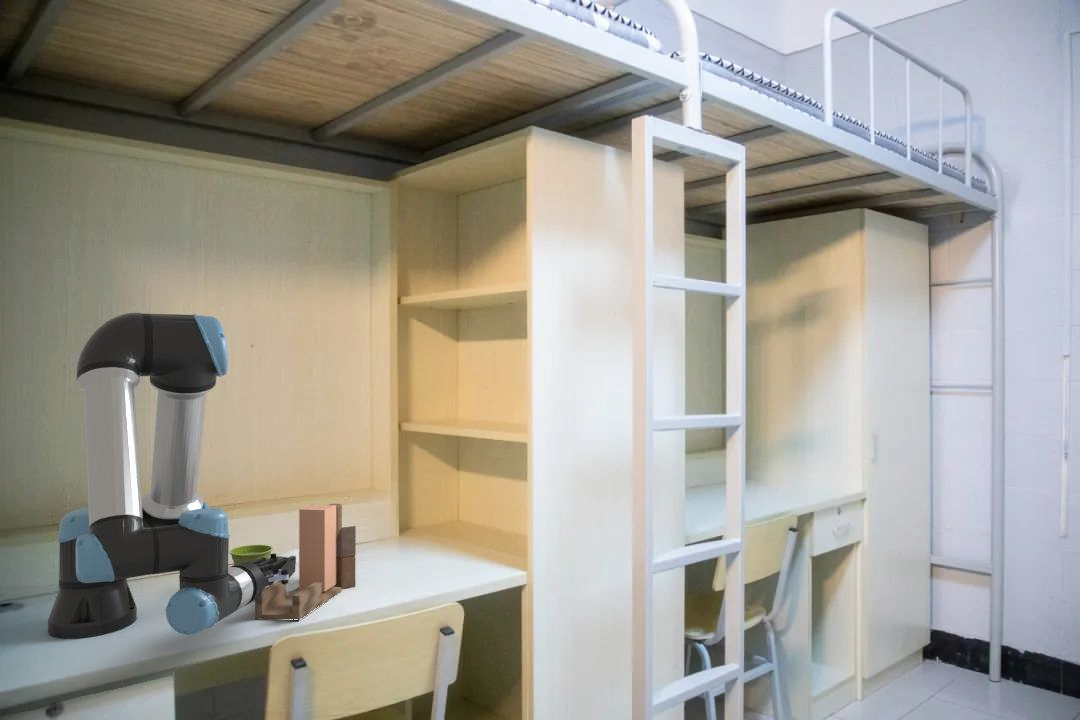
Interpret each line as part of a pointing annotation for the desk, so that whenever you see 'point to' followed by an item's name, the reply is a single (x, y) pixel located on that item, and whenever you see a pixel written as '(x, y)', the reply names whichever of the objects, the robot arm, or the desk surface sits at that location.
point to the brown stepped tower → (345, 552)
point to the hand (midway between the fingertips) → (295, 555)
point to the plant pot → (250, 553)
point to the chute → (291, 601)
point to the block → (317, 546)
